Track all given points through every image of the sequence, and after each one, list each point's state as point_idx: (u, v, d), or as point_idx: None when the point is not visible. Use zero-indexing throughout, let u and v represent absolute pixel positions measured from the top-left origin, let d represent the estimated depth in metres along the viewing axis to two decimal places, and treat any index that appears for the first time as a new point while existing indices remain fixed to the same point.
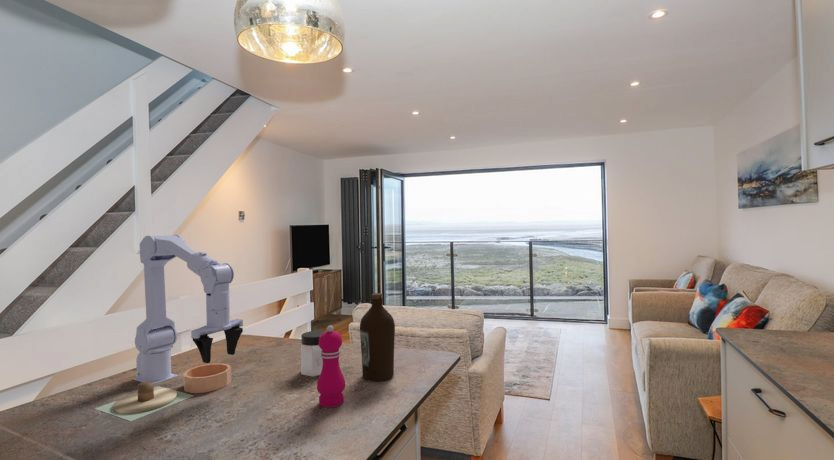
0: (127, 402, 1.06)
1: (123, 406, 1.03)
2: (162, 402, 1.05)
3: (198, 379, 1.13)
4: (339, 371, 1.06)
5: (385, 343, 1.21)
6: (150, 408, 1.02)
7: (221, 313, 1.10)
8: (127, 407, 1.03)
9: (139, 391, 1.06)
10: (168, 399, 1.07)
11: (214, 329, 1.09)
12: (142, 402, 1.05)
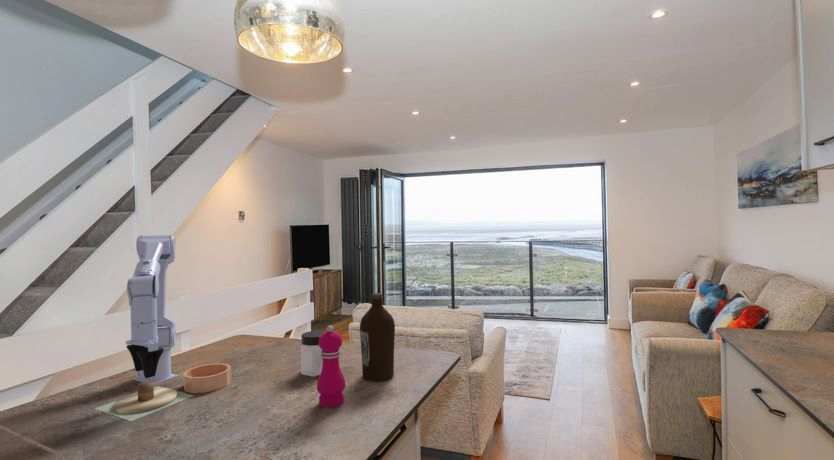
0: (127, 402, 1.06)
1: (123, 406, 1.03)
2: (162, 402, 1.05)
3: (198, 379, 1.13)
4: (339, 371, 1.06)
5: (385, 343, 1.21)
6: (150, 408, 1.02)
7: (131, 326, 1.06)
8: (127, 407, 1.03)
9: (139, 391, 1.06)
10: (168, 399, 1.07)
11: None
12: (142, 402, 1.05)
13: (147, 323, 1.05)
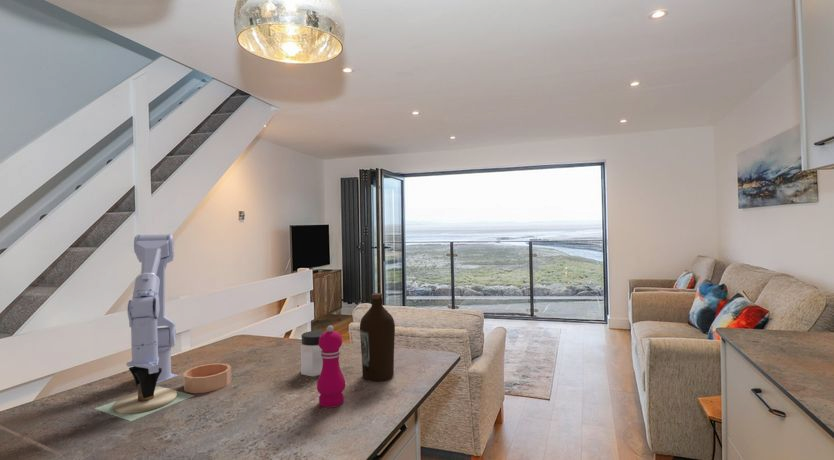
0: (127, 402, 1.06)
1: (123, 406, 1.03)
2: (162, 402, 1.05)
3: (198, 379, 1.13)
4: (339, 371, 1.06)
5: (385, 343, 1.21)
6: (150, 408, 1.02)
7: None
8: (127, 407, 1.03)
9: (139, 391, 1.06)
10: (168, 399, 1.07)
11: None
12: (142, 402, 1.05)
13: (148, 345, 1.05)
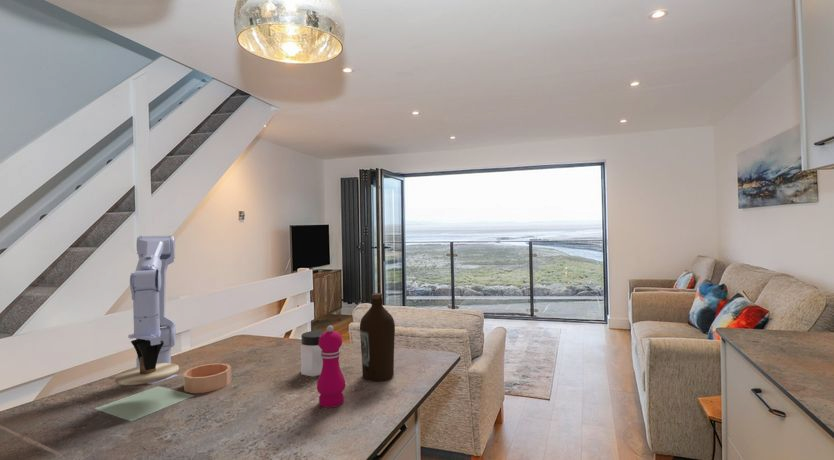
0: (129, 374, 1.06)
1: (125, 378, 1.04)
2: (164, 374, 1.06)
3: (198, 379, 1.13)
4: (339, 371, 1.06)
5: (385, 343, 1.21)
6: (152, 379, 1.03)
7: None
8: (129, 378, 1.03)
9: (141, 363, 1.06)
10: (170, 372, 1.07)
11: None
12: (144, 375, 1.05)
13: (149, 317, 1.06)
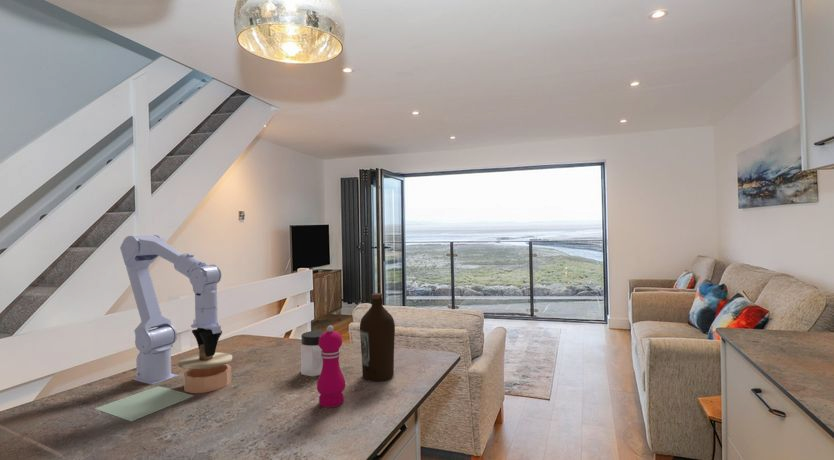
0: (190, 360, 1.17)
1: (188, 363, 1.14)
2: (222, 361, 1.17)
3: (198, 379, 1.13)
4: (339, 371, 1.06)
5: (385, 343, 1.21)
6: (213, 365, 1.14)
7: (195, 311, 1.18)
8: (192, 363, 1.14)
9: (201, 351, 1.17)
10: (226, 359, 1.18)
11: None
12: (204, 361, 1.16)
13: (210, 308, 1.17)
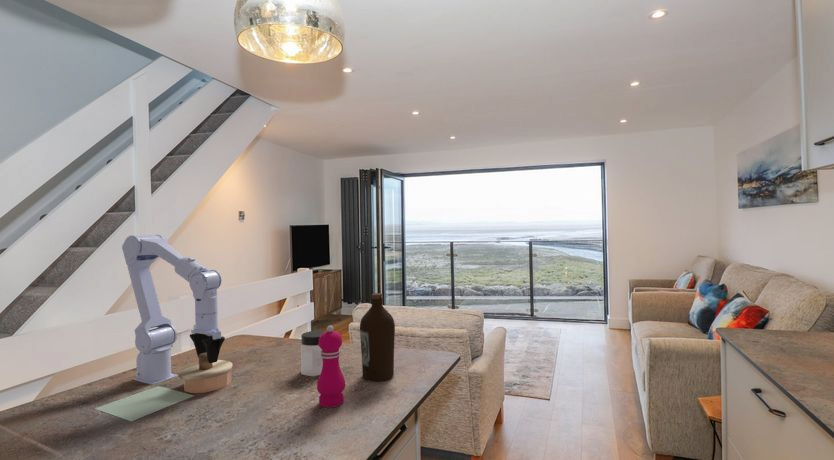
0: (190, 370, 1.17)
1: (188, 373, 1.14)
2: (222, 370, 1.17)
3: None
4: (339, 371, 1.06)
5: (385, 343, 1.21)
6: (213, 375, 1.14)
7: (195, 317, 1.18)
8: (192, 374, 1.14)
9: (200, 360, 1.17)
10: (226, 368, 1.18)
11: (194, 329, 1.19)
12: (204, 371, 1.16)
13: (210, 314, 1.17)
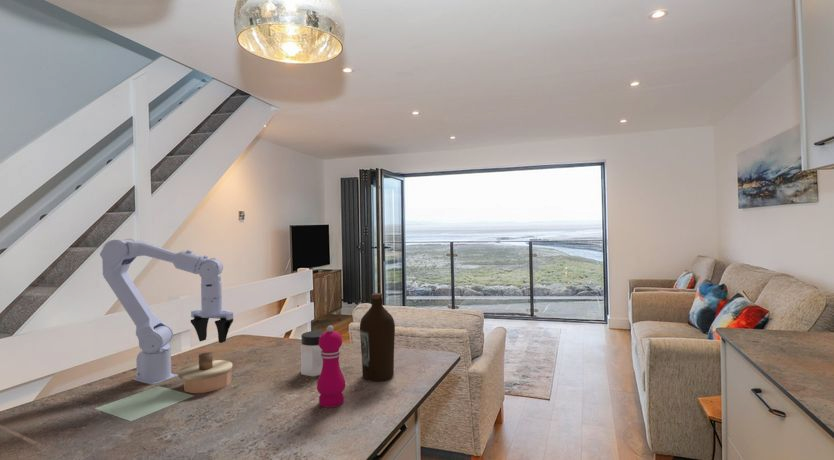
0: (190, 370, 1.17)
1: (188, 373, 1.14)
2: (222, 370, 1.17)
3: None
4: (339, 371, 1.06)
5: (385, 343, 1.21)
6: (213, 375, 1.14)
7: (202, 302, 1.26)
8: (192, 374, 1.14)
9: (200, 360, 1.17)
10: (226, 368, 1.18)
11: (198, 314, 1.27)
12: (204, 371, 1.16)
13: (218, 298, 1.27)
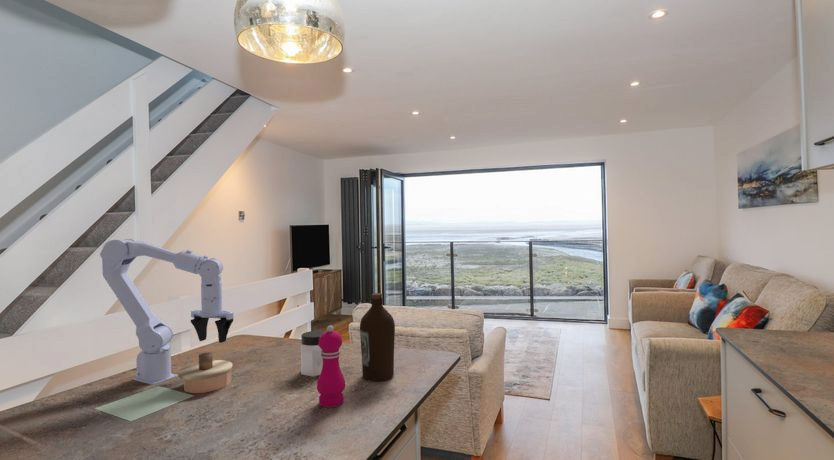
0: (190, 370, 1.17)
1: (188, 373, 1.14)
2: (222, 370, 1.17)
3: None
4: (339, 371, 1.06)
5: (385, 343, 1.21)
6: (213, 375, 1.14)
7: (202, 302, 1.26)
8: (192, 374, 1.14)
9: (200, 360, 1.17)
10: (226, 368, 1.18)
11: (198, 314, 1.27)
12: (204, 371, 1.16)
13: (219, 298, 1.27)
